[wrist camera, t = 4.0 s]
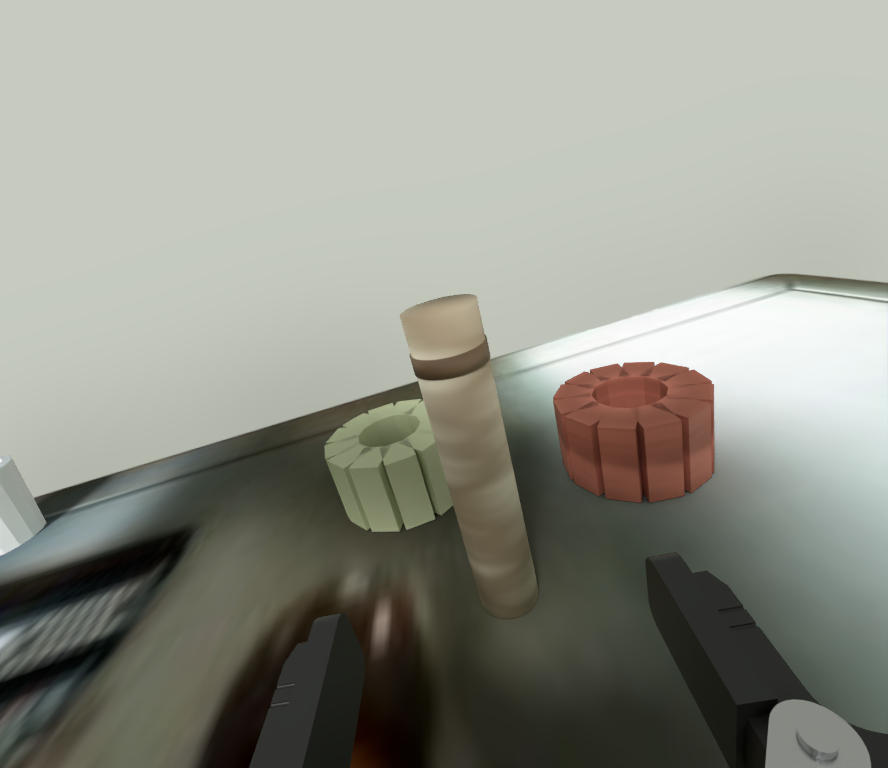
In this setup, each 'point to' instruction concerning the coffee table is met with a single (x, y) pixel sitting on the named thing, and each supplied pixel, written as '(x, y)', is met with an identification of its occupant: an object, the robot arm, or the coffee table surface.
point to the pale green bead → (389, 468)
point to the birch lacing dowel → (473, 448)
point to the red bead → (637, 430)
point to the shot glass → (16, 508)
